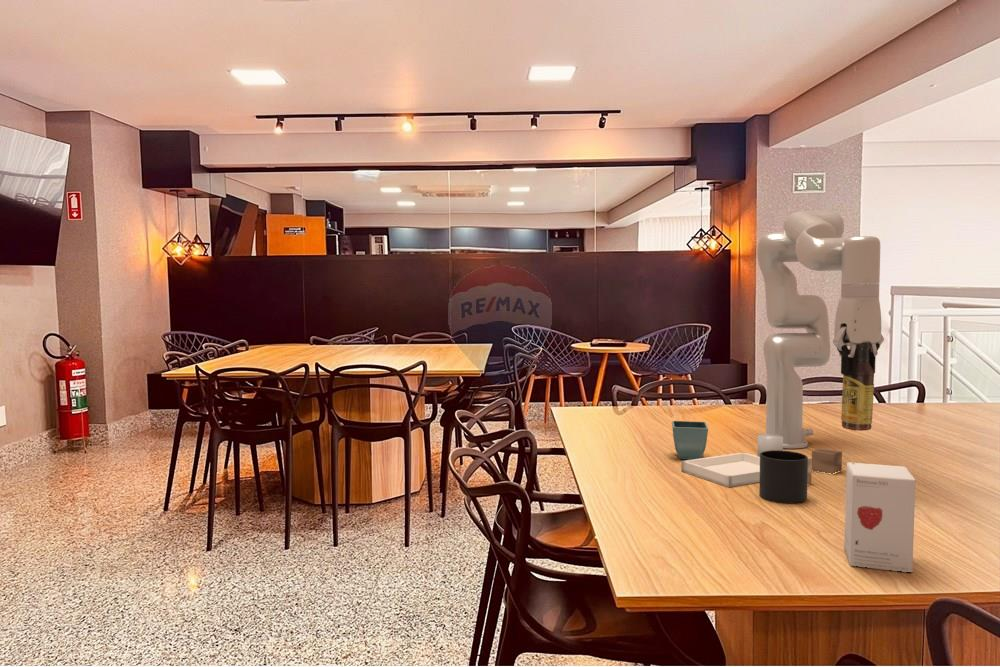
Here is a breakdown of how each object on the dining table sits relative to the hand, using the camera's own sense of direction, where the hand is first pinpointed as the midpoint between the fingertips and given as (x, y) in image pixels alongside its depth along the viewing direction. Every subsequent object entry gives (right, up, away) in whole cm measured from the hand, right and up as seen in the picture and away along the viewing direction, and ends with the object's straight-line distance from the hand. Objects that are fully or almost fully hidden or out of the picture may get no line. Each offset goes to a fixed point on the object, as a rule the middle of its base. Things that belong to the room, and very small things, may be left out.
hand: (858, 373), depth 156 cm
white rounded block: (-11, -24, +22) cm, 34 cm away
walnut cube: (-1, -25, +14) cm, 28 cm away
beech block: (-12, -25, +4) cm, 28 cm away
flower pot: (-30, -24, +29) cm, 48 cm away
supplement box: (-18, -28, -42) cm, 54 cm away
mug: (-19, -26, -6) cm, 33 cm away
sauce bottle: (0, -13, +1) cm, 13 cm away
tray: (-23, -25, +12) cm, 36 cm away
